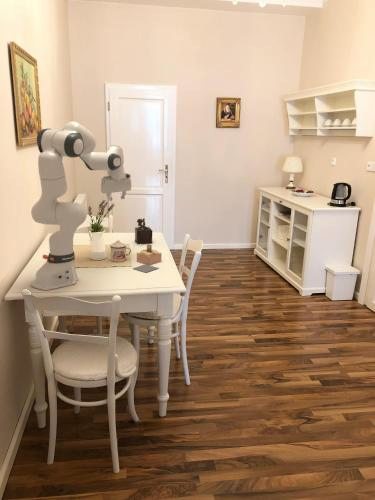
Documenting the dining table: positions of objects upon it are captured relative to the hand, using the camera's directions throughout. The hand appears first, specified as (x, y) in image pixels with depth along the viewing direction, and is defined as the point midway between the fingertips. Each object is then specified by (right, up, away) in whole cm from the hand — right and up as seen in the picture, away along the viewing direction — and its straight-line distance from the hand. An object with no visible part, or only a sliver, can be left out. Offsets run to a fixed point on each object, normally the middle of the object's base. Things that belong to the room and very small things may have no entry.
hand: (116, 199), depth 232 cm
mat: (+18, -39, -11) cm, 44 cm away
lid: (+19, -31, +1) cm, 36 cm away
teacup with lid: (+2, -35, +4) cm, 35 cm away
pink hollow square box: (+18, -35, +2) cm, 40 cm away
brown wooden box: (+11, -24, +41) cm, 49 cm away
